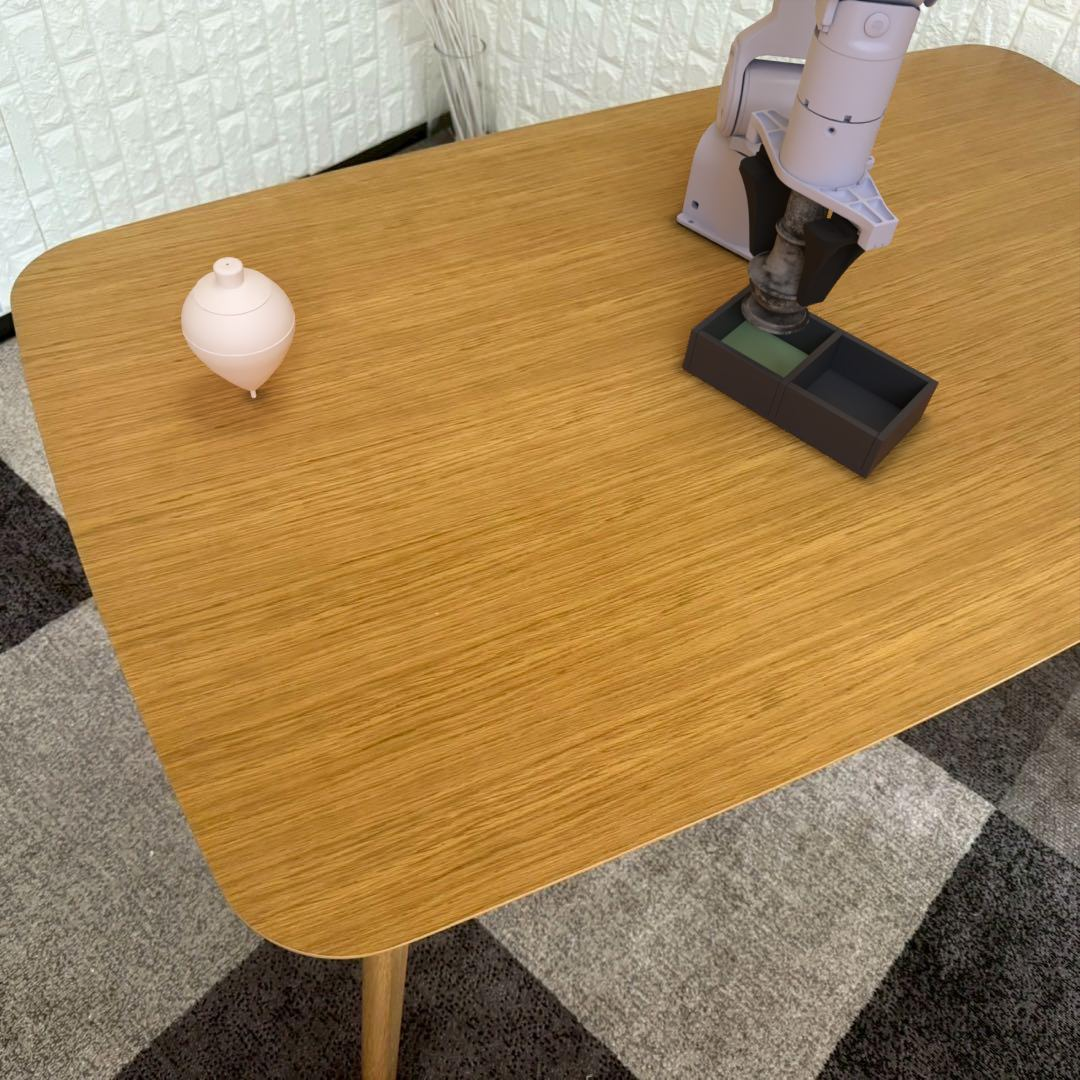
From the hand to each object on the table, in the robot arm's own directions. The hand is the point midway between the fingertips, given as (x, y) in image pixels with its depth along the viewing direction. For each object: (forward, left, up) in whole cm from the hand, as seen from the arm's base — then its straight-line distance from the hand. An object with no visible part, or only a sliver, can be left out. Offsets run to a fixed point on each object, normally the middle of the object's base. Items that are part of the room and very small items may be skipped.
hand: (786, 276), depth 76 cm
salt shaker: (0, 0, -4) cm, 4 cm away
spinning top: (-25, -31, -9) cm, 41 cm away
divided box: (+4, 0, -9) cm, 10 cm away
